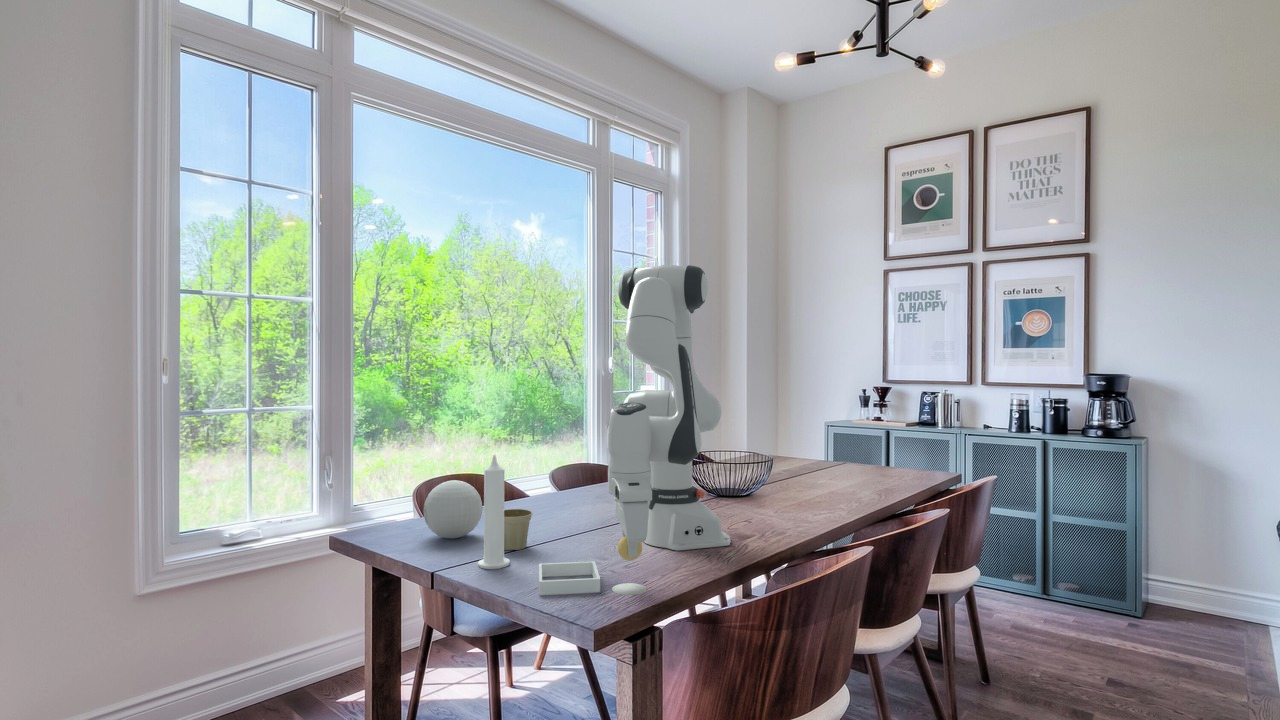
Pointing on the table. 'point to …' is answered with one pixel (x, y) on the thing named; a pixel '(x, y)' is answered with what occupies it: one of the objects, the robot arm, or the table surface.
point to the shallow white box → (569, 584)
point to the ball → (624, 552)
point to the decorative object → (452, 509)
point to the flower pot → (516, 528)
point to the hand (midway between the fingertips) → (630, 551)
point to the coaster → (629, 589)
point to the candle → (494, 518)
